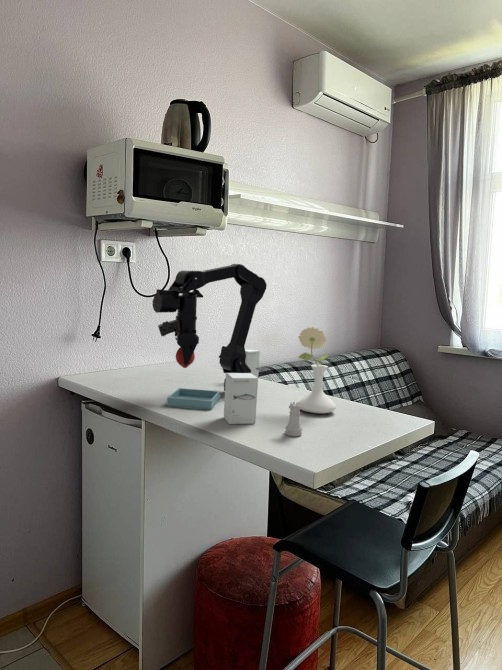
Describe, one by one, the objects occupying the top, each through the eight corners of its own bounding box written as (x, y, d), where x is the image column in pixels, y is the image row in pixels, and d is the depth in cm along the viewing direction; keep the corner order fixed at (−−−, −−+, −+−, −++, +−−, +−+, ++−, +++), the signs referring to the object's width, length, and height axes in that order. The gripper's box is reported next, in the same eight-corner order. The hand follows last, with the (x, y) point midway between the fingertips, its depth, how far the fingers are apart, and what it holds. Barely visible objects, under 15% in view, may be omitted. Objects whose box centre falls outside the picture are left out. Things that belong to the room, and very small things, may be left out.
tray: (219, 399, 165) (220, 391, 165) (211, 409, 152) (211, 401, 152) (178, 396, 167) (179, 388, 166) (167, 406, 154) (167, 397, 153)
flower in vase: (341, 411, 159) (347, 328, 156) (326, 419, 149) (333, 331, 146) (302, 403, 165) (307, 324, 162) (285, 410, 155) (290, 326, 153)
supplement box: (229, 425, 138) (231, 377, 137) (223, 417, 145) (225, 372, 144) (256, 424, 140) (258, 377, 139) (248, 416, 147) (251, 372, 146)
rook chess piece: (301, 431, 135) (303, 401, 134) (303, 437, 131) (305, 405, 130) (283, 431, 135) (285, 400, 134) (285, 436, 131) (287, 405, 130)
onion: (190, 370, 158) (191, 344, 157) (172, 368, 160) (173, 342, 159) (196, 367, 164) (197, 341, 163) (179, 365, 165) (180, 340, 164)
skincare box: (245, 384, 189) (247, 351, 187) (238, 382, 192) (239, 349, 191) (258, 383, 193) (260, 350, 191) (251, 381, 196) (252, 348, 195)
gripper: (159, 309, 167) (158, 357, 169) (160, 314, 149) (159, 368, 151) (194, 310, 169) (192, 357, 171) (199, 315, 151) (198, 368, 153)
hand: (185, 362), depth 162 cm, fingers closed on onion, 6 cm apart
